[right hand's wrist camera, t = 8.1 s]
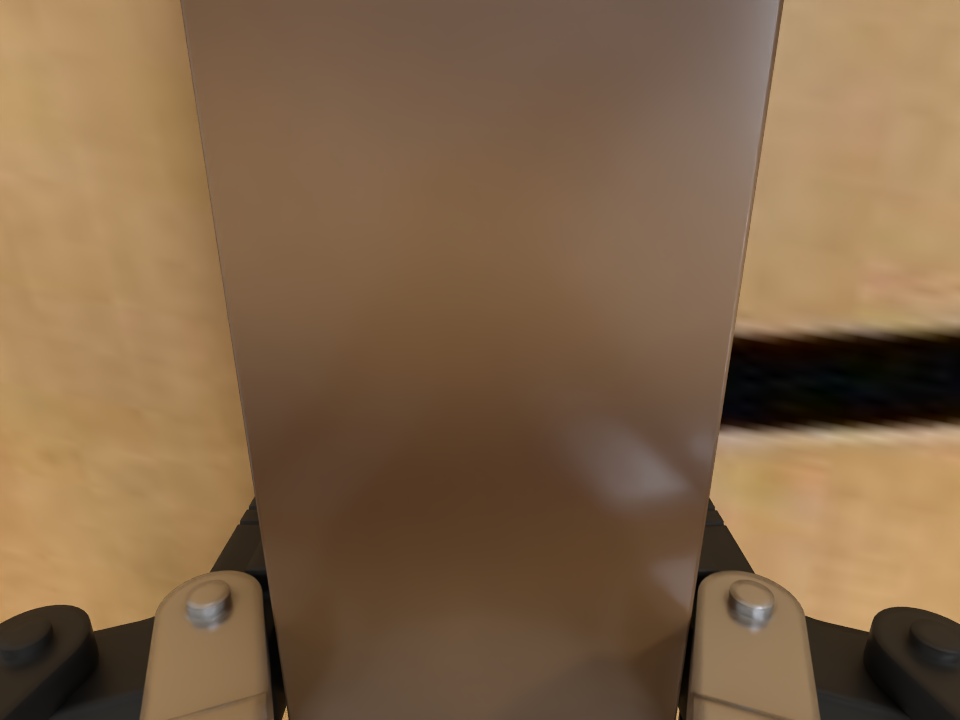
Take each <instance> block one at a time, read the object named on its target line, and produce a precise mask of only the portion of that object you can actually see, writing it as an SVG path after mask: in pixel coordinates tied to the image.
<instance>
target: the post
mask: <svg viewBox="0 0 960 720" xmlns="http://www.w3.org/2000/svg"><path fill="white" fill-rule="evenodd" d="M180 1H181V8H182V14H183V21H184V27H185V34H186V41H187V47H188V54H189V61H190V67H191V74H192V81H193V87H194V94H195V100H196V107H197V114H198V120H199V127H200V134H201V140H202V147H203V154H204V160H205V167H206V173H207V180H208V187H209V193H210V200H211V207H212V213H213V220H214V226H215V233H216V240H217V246H218V253H219V260H220V266H221V273H222V280H223V286H224V293H225V299H226V306H227V313H228V319H229V326H230V333H231V339H232V346H233V353H234V359H235V366H236V372H237V379H238V386H239V392H240V399H241V406H242V412H243V419H244V426H245V432H246V439H247V445H248V452H249V459H250V465H251V472H252V479H253V485H254V492H255V499H256V505H257V512H258V518H259V525H260V532H261V538H262V545H263V552H264V558H265V565H266V572H267V578H268V585H269V591H270V598H271V605H272V611H273V618H274V625H275V631H276V638H277V645H278V651H279V658H280V664H281V671H282V678H283V684H284V691H285V698H286V704H287V711H288V718H289V720H676V714H677V708H678V701H679V694H680V688H681V681H682V674H683V668H684V661H685V655H686V648H687V641H688V635H689V628H690V621H691V615H692V608H693V601H694V595H695V588H696V581H697V575H698V568H699V561H700V555H701V548H702V541H703V535H704V528H705V521H706V515H707V508H708V501H709V495H710V488H711V481H712V475H713V468H714V462H715V455H716V448H717V442H718V435H719V428H720V422H721V415H722V408H723V402H724V395H725V388H726V382H727V375H728V368H729V362H730V355H731V348H732V342H733V335H734V328H735V322H736V315H737V308H738V302H739V295H740V288H741V282H742V275H743V268H744V262H745V255H746V249H747V242H748V235H749V229H750V222H751V215H752V209H753V202H754V195H755V189H756V182H757V175H758V169H759V162H760V155H761V149H762V142H763V135H764V129H765V122H766V115H767V109H768V102H769V95H770V89H771V82H772V75H773V69H774V62H775V56H776V49H777V42H778V36H779V29H780V22H781V16H782V9H783V2H784V0H180Z"/></svg>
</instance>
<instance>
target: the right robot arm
mask: <svg viewBox="0 0 960 720" xmlns="http://www.w3.org/2000/svg"><path fill="white" fill-rule="evenodd" d="M286 705H287V704H286V698H285V691H284V684H283V678H282V671H281V664H280V658H279V651H278V645H277V638H276V631H275V625H274V618H273V611H272V605H271V598H270V591H269V585H268V578H267V572H266V565H265V558H264V552H263V545H262V538H261V532H260V525H259V518H258V512H257V505H256V499H255V497H254V499H253V500H252V502H251V504H250V505H249V510H247V511H246V512H245V514H244V516H243V517H242V519H241V521H240V525H238V526H237V527H236V529H235V531H234V532H233V534H232V536H231V538H230V539H229V541H228V543H227V544H226V546H225V548H224V549H223V551H222V553H221V554H220V556H219V558H218V559H217V561H216V563H215V565H214V566H213V568H212V570H211V571H210V573H207V574H203V575H200V576H198V577H195V578H193V579H191V580H189V581H186V582H185V583H183V584H181V585H180V586H178V587H177V588H175V589H174V590H173V591H171V592H170V593H169V594H168V595H167V596H166V597H165V598H164V599H163V601H162V602H161V603H160V605H159V607H158V609H157V611H156V615H155V617H152V618H149V619H145V620H142V621H138V622H133V623H129V624H124V625H120V626H116V627H111V628H107V629H103V630H98V631H94V632H93V629H92V625H91V622H90V619H89V616H88V614H87V613H86V612H85V611H84V610H82V609H80V608H78V607H74V606H69V605H52V606H45V607H41V608H37V609H33V610H30V611H27V612H24V613H22V614H19V615H17V616H14V617H12V618H10V619H8V620H6V621H4V622H3V623H1V624H0V720H282V717H283V714H284V711H285V708H286ZM678 708H679V717H678V720H960V624H958V623H956V622H954V621H952V620H950V619H948V618H946V617H943V616H941V615H938V614H936V613H933V612H929V611H926V610H922V609H917V608H910V607H892V608H888V609H884V610H882V611H880V612H879V613H878V614H877V615H876V616H875V617H874V619H873V622H872V625H871V628H870V632H866V631H862V630H857V629H853V628H849V627H844V626H840V625H836V624H831V623H827V622H823V621H819V620H816V619H813V618H810V617H807V616H805V615H804V611H803V609H802V607H801V605H800V603H799V602H798V601H797V599H796V598H795V597H794V596H793V595H792V594H791V593H790V592H789V591H787V590H786V589H785V588H783V587H782V586H780V585H779V584H777V583H775V582H774V581H771V580H769V579H767V578H765V577H762V576H760V575H757V574H755V573H754V571H753V570H752V568H751V566H750V565H749V563H748V561H747V560H746V558H745V556H744V555H743V553H742V551H741V550H740V548H739V546H738V545H737V543H736V541H735V540H734V538H733V536H732V535H731V533H730V531H729V530H728V528H727V526H724V521H723V520H722V518H721V516H720V515H719V513H718V511H717V510H715V506H714V505H713V503H712V501H711V500H710V498H709V501H708V508H707V515H706V521H705V528H704V535H703V541H702V548H701V555H700V561H699V568H698V575H697V581H696V588H695V595H694V601H693V608H692V615H691V621H690V628H689V635H688V641H687V648H686V655H685V661H684V668H683V674H682V681H681V688H680V694H679V701H678Z"/></svg>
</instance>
